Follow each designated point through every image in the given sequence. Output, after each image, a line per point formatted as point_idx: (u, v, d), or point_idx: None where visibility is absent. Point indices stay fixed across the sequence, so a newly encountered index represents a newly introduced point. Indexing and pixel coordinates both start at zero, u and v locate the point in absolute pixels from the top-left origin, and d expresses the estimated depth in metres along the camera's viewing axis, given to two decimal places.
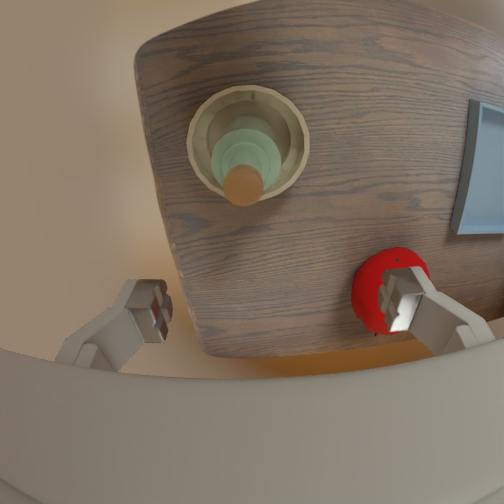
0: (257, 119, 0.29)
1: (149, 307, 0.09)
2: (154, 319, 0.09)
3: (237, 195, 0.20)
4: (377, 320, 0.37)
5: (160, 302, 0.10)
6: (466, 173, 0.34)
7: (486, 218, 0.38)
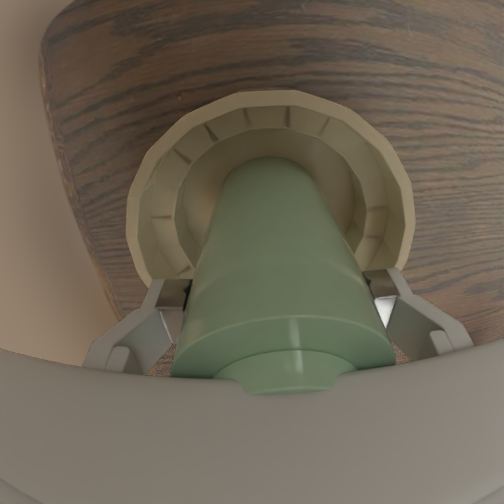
0: (301, 186, 0.11)
1: (181, 307, 0.09)
2: None
3: None
4: None
5: None
6: None
7: None
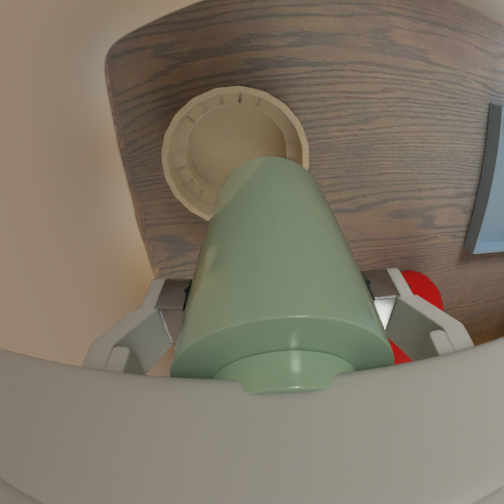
0: (300, 186, 0.11)
1: (181, 307, 0.09)
2: None
3: None
4: None
5: None
6: (485, 186, 0.29)
7: (503, 234, 0.33)
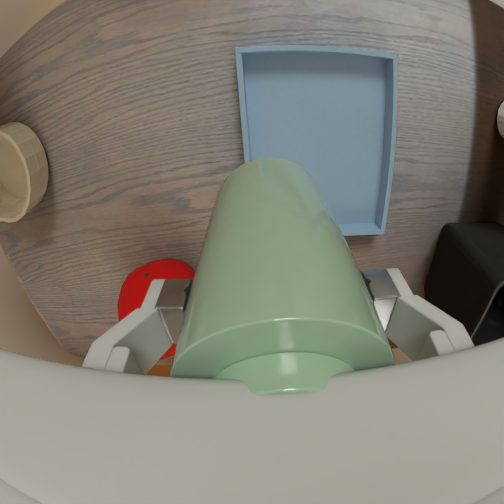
0: (300, 187, 0.11)
1: (181, 307, 0.09)
2: None
3: None
4: None
5: None
6: None
7: None
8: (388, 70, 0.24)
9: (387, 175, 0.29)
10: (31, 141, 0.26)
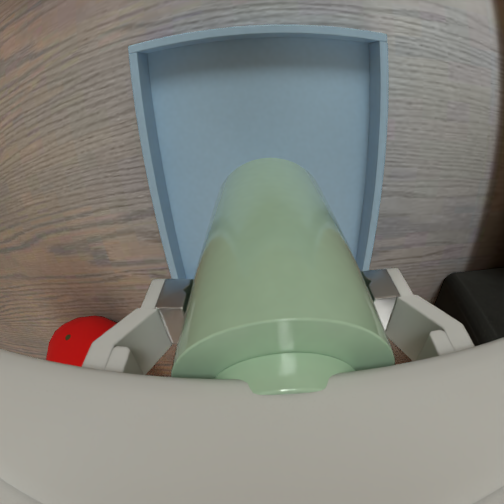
0: (301, 187, 0.11)
1: (181, 307, 0.09)
2: None
3: None
4: None
5: None
6: None
7: None
8: (373, 59, 0.15)
9: (369, 221, 0.21)
10: None
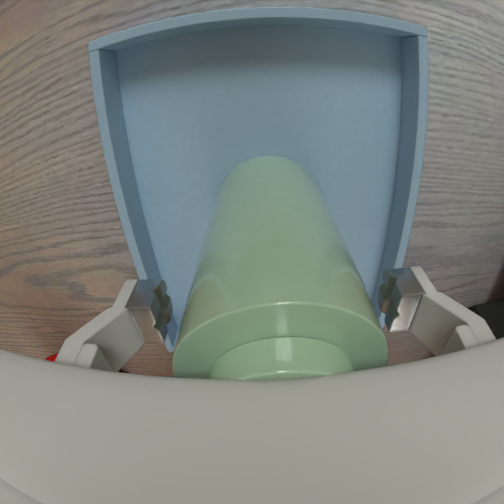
0: (298, 184, 0.12)
1: (149, 307, 0.09)
2: (154, 319, 0.09)
3: None
4: None
5: (160, 302, 0.10)
6: None
7: None
8: (407, 58, 0.11)
9: (394, 261, 0.17)
10: None
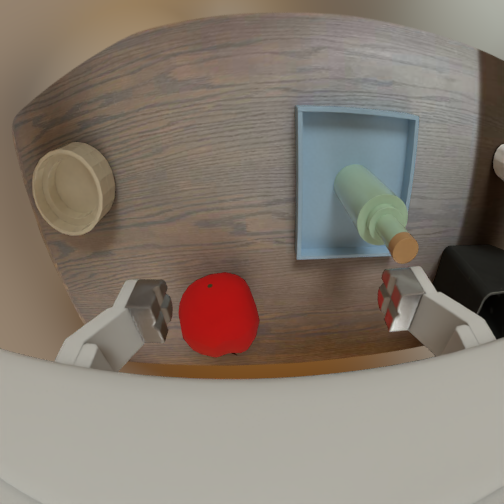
0: (373, 174, 0.33)
1: (149, 306, 0.09)
2: (154, 319, 0.09)
3: (401, 256, 0.24)
4: (188, 341, 0.41)
5: (160, 302, 0.10)
6: (297, 192, 0.38)
7: (350, 240, 0.43)
8: (410, 128, 0.32)
9: None
10: (101, 164, 0.35)
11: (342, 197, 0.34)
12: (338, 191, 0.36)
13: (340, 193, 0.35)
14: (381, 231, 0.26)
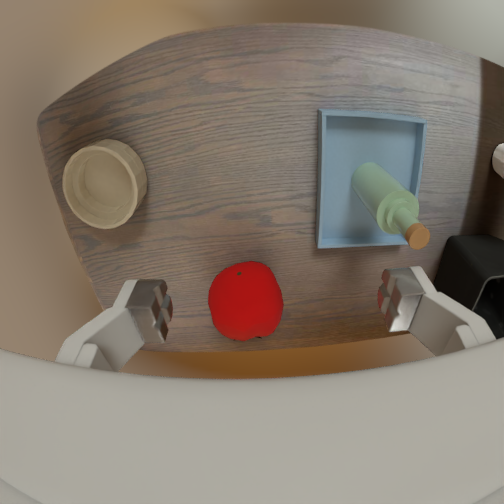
0: (387, 172, 0.37)
1: (149, 307, 0.09)
2: (154, 319, 0.09)
3: (415, 243, 0.28)
4: (219, 326, 0.45)
5: (160, 302, 0.10)
6: (319, 187, 0.41)
7: (364, 230, 0.46)
8: (419, 130, 0.35)
9: None
10: (135, 160, 0.38)
11: (360, 192, 0.38)
12: (356, 186, 0.39)
13: (358, 188, 0.38)
14: (398, 222, 0.30)
